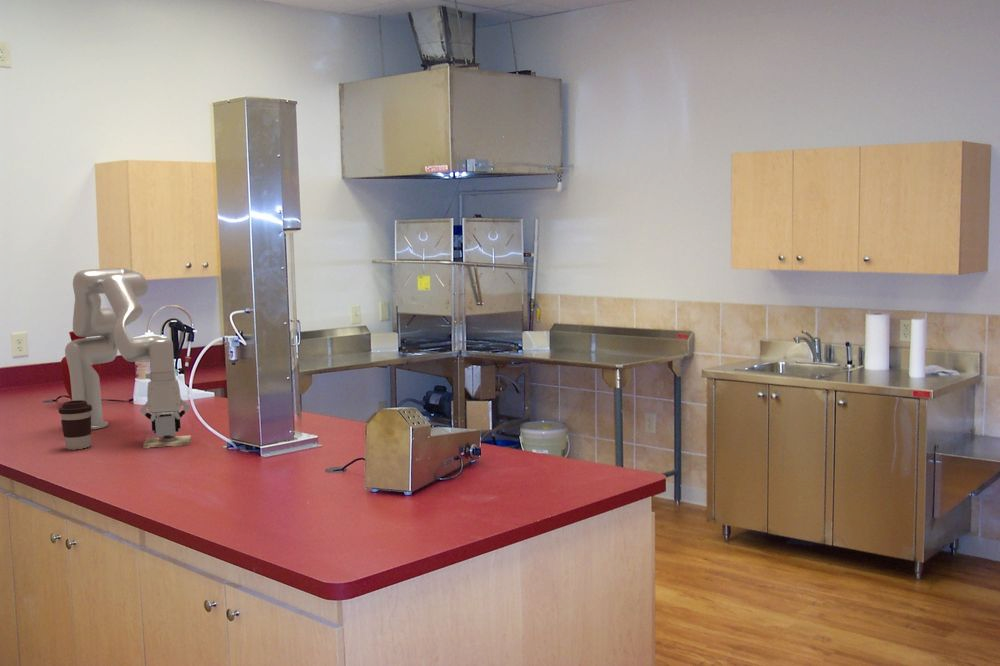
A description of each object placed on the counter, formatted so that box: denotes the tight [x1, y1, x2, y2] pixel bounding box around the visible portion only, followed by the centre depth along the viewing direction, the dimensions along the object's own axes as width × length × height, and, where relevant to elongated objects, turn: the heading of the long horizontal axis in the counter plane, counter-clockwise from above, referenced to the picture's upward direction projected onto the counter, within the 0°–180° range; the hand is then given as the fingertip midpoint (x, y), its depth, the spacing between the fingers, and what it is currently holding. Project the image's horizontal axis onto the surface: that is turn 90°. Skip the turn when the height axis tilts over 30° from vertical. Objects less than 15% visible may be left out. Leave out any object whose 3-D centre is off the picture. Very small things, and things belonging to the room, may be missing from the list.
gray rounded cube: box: [155, 413, 178, 437], centre depth 335 cm, size 6×6×6 cm
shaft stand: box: [143, 434, 192, 449], centre depth 335 cm, size 14×10×8 cm
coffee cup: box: [58, 400, 92, 451], centre depth 333 cm, size 10×10×15 cm
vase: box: [60, 330, 102, 401], centre depth 410 cm, size 15×15×30 cm
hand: (166, 431), depth 335 cm, fingers closed on gray rounded cube, 5 cm apart
